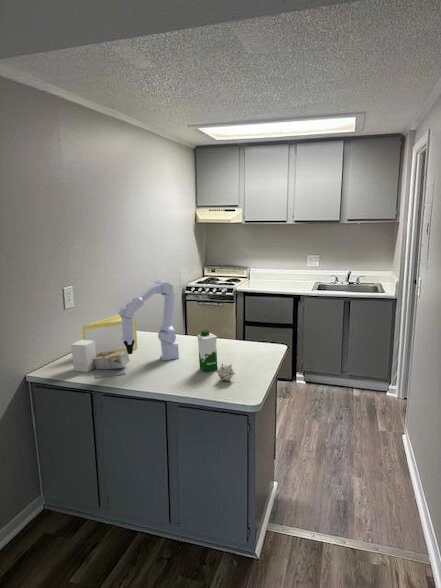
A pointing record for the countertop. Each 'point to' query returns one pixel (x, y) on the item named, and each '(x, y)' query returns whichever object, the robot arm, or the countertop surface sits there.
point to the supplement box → (83, 355)
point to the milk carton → (207, 351)
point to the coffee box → (111, 360)
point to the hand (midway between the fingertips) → (130, 353)
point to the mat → (109, 372)
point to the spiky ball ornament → (225, 372)
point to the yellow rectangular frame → (107, 335)
